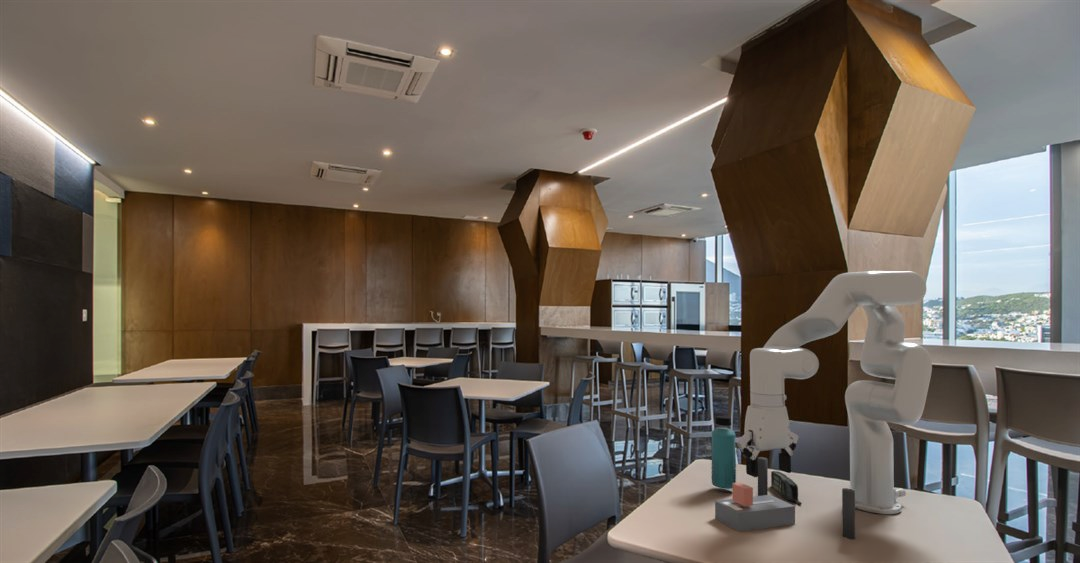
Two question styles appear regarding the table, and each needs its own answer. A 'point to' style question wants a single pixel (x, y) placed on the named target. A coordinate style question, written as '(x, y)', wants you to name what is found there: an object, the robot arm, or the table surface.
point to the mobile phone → (785, 486)
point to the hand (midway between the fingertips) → (768, 473)
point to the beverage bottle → (723, 454)
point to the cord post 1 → (762, 476)
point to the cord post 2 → (848, 513)
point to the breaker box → (755, 513)
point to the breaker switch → (742, 494)
